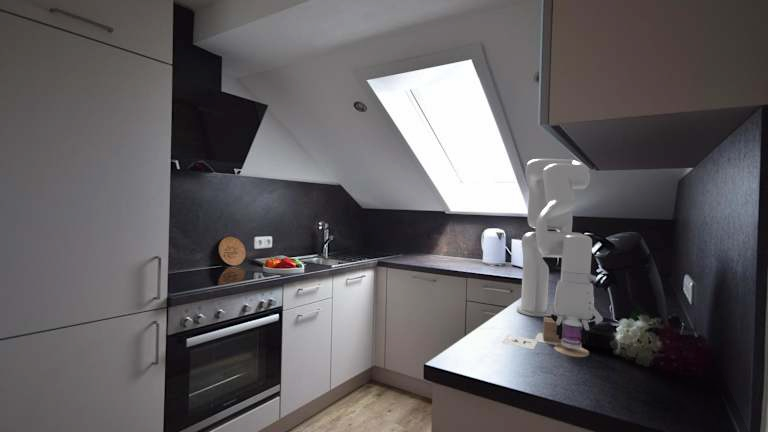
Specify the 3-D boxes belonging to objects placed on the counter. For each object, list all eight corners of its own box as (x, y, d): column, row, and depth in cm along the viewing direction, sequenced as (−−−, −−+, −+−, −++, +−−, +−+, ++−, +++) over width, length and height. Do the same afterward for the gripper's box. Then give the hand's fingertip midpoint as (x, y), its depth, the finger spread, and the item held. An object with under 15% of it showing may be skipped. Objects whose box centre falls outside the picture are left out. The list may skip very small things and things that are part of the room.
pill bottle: (585, 350, 109) (587, 316, 108) (566, 349, 109) (568, 315, 109) (576, 342, 114) (578, 310, 114) (558, 342, 114) (559, 309, 114)
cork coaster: (556, 343, 118) (556, 341, 118) (589, 349, 113) (589, 348, 113) (552, 352, 110) (552, 351, 110) (588, 359, 105) (588, 358, 105)
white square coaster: (508, 335, 124) (508, 334, 124) (538, 341, 119) (538, 340, 119) (501, 343, 116) (501, 342, 116) (533, 350, 111) (533, 349, 111)
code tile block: (538, 333, 127) (538, 332, 127) (568, 339, 122) (568, 338, 122) (534, 341, 119) (534, 340, 119) (566, 347, 114) (566, 346, 114)
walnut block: (542, 335, 124) (543, 317, 124) (559, 338, 122) (560, 319, 122) (543, 340, 119) (544, 321, 119) (561, 343, 117) (562, 323, 117)
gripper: (609, 279, 110) (605, 342, 111) (544, 272, 118) (541, 330, 119) (609, 284, 103) (605, 351, 104) (541, 275, 112) (538, 337, 113)
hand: (571, 339), depth 112 cm, fingers closed on pill bottle, 5 cm apart
